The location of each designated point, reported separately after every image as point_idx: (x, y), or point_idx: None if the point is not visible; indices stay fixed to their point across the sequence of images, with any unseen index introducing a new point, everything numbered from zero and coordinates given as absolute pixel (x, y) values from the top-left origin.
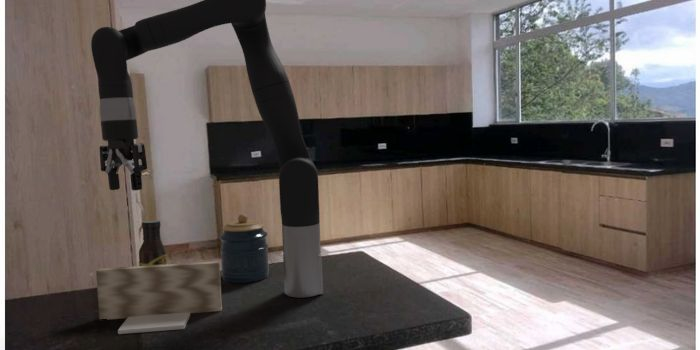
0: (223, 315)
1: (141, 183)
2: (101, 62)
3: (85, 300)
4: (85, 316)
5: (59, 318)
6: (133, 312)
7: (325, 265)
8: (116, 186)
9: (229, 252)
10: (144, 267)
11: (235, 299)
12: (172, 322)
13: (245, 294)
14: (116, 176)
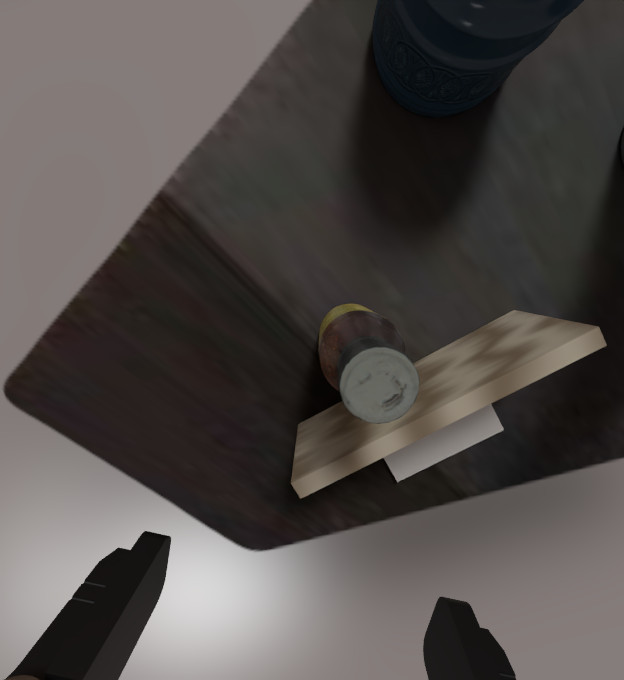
0: None
1: (510, 670)
2: None
3: (167, 351)
4: (259, 427)
5: (219, 449)
6: None
7: None
8: (156, 574)
9: (471, 70)
10: (410, 442)
11: (512, 243)
12: (473, 425)
13: (519, 200)
14: (102, 665)
